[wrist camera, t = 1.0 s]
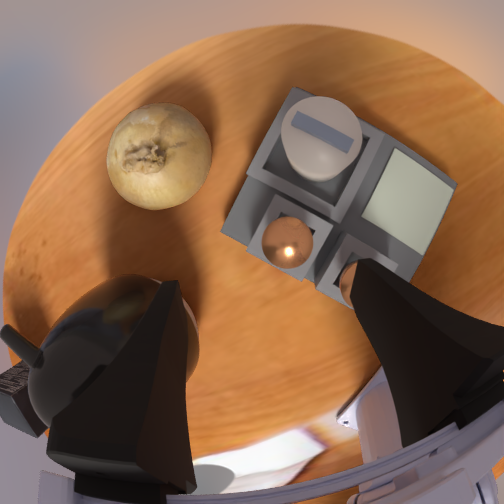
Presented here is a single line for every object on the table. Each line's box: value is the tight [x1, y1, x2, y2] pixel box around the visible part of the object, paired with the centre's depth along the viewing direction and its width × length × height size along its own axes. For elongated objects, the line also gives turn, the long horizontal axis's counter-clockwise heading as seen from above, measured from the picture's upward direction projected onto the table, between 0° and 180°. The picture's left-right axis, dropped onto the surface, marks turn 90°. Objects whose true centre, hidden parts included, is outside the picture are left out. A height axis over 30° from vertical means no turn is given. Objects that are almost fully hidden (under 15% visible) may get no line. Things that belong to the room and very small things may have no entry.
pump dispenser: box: [0, 274, 199, 428], centre depth 17 cm, size 10×10×15 cm
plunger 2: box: [339, 260, 358, 308], centre depth 16 cm, size 3×3×3 cm
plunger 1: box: [261, 216, 313, 269], centre depth 17 cm, size 3×3×3 cm
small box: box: [0, 360, 49, 438], centre depth 25 cm, size 11×6×10 cm, turn 105°
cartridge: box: [281, 96, 362, 183], centre depth 15 cm, size 4×4×6 cm
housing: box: [220, 87, 457, 310], centre depth 18 cm, size 14×12×4 cm
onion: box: [107, 103, 212, 210], centre depth 19 cm, size 8×8×7 cm
